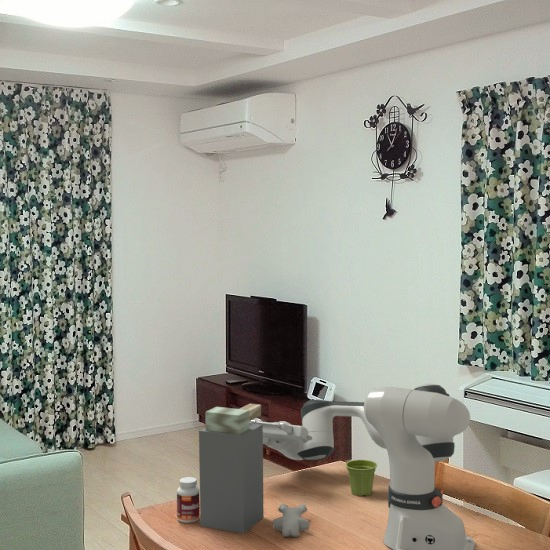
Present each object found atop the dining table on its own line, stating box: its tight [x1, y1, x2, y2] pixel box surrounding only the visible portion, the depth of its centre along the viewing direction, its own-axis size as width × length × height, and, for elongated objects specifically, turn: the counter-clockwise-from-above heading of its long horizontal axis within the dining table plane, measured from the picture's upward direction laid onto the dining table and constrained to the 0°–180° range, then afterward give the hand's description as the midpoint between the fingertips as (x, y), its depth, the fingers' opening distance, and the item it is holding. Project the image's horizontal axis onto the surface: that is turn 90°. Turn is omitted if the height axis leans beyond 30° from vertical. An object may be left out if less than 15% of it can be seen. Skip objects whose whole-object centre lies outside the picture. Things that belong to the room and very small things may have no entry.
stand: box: [198, 423, 265, 535], centre depth 215 cm, size 13×12×26 cm
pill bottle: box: [176, 476, 200, 524], centre depth 218 cm, size 6×6×11 cm
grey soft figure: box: [272, 503, 310, 537], centre depth 211 cm, size 10×5×15 cm
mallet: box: [204, 403, 262, 434], centre depth 218 cm, size 10×20×5 cm, turn 156°
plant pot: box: [345, 459, 378, 497], centre depth 237 cm, size 9×9×9 cm
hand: (266, 424), depth 235 cm, fingers open, 8 cm apart
